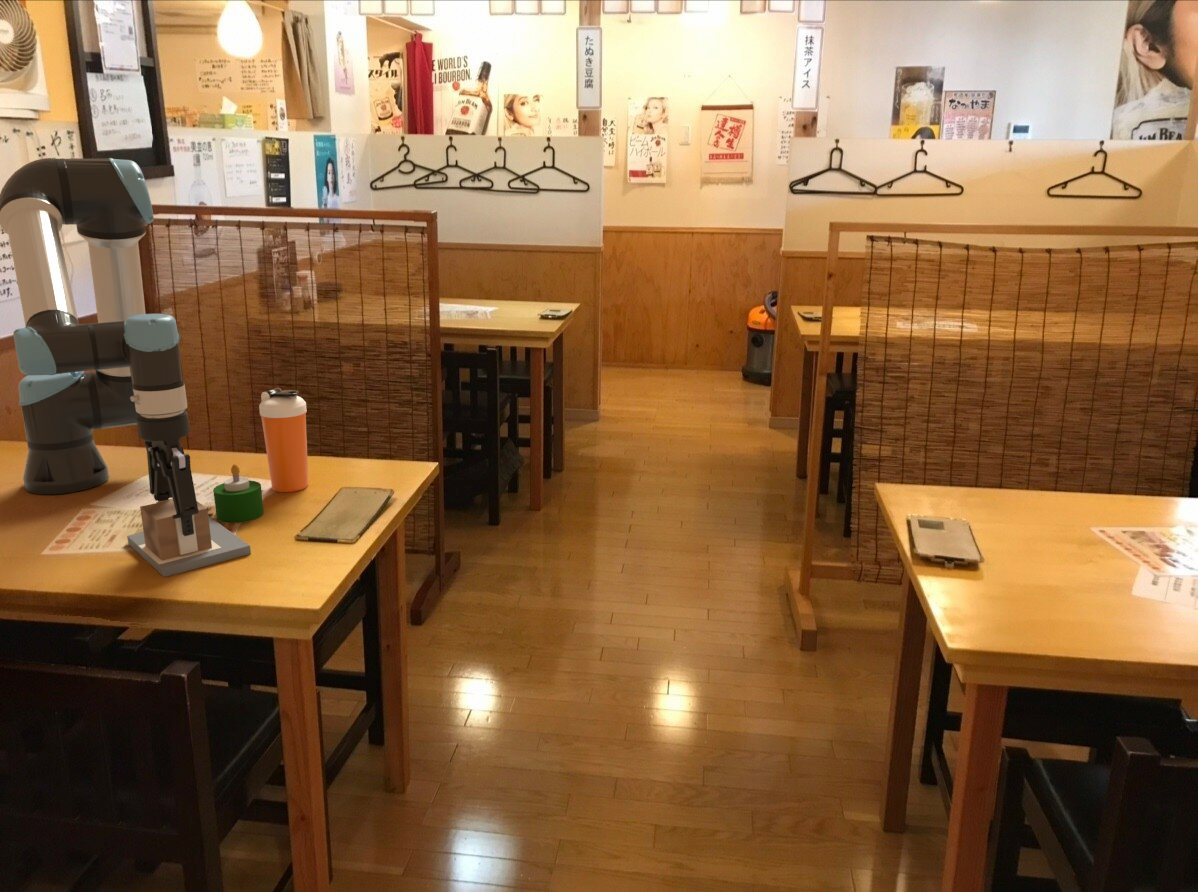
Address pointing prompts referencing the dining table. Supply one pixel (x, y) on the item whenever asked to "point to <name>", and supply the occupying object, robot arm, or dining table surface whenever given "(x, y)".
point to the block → (171, 529)
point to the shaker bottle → (285, 438)
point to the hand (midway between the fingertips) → (179, 544)
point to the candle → (238, 499)
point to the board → (222, 550)
